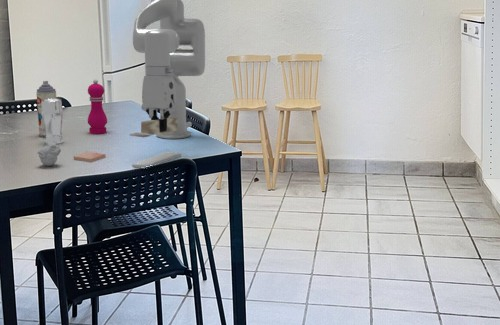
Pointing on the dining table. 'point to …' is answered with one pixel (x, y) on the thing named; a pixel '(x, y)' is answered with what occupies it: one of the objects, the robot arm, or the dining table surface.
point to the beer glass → (52, 120)
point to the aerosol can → (42, 93)
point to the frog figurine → (49, 154)
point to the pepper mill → (96, 109)
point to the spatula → (156, 127)
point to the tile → (89, 156)
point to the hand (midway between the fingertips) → (159, 130)
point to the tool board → (156, 159)
